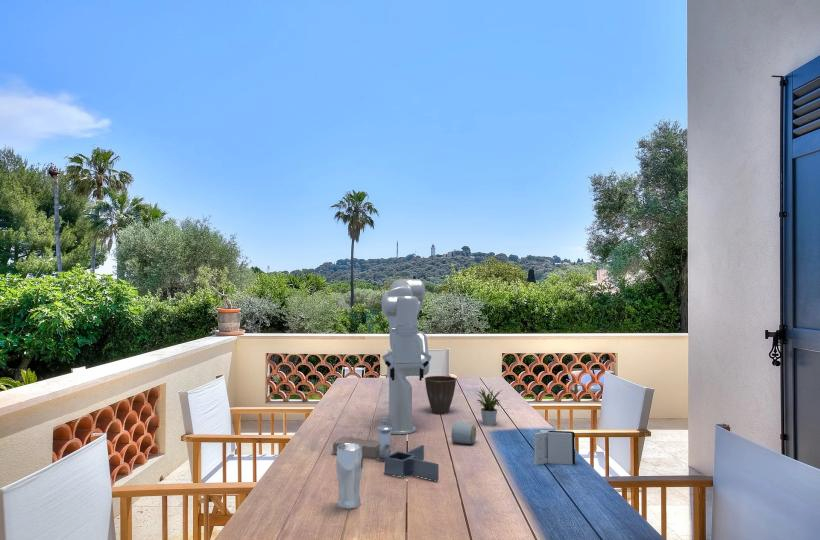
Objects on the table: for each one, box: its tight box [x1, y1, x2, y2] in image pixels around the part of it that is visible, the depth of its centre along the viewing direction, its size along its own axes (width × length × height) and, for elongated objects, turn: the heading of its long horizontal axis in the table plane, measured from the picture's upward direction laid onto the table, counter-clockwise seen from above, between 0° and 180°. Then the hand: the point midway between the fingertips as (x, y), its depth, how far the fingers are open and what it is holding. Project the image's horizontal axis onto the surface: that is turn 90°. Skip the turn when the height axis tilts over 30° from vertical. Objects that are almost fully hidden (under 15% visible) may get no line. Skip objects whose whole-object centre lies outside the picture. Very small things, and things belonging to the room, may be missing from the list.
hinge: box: [533, 429, 576, 466], centre depth 164 cm, size 14×5×10 cm, turn 92°
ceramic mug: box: [450, 420, 477, 445], centre depth 186 cm, size 11×8×8 cm
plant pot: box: [424, 375, 457, 415], centre depth 234 cm, size 15×15×16 cm
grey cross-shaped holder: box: [384, 444, 440, 482], centre depth 155 cm, size 17×17×5 cm
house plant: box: [476, 387, 503, 426], centre depth 213 cm, size 14×14×16 cm
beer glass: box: [335, 443, 364, 510], centre depth 130 cm, size 7×7×15 cm
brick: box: [332, 435, 379, 459], centre depth 173 cm, size 17×8×5 cm, turn 74°
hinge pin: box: [377, 424, 392, 463], centre depth 165 cm, size 5×5×11 cm
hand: (406, 380), depth 172 cm, fingers open, 9 cm apart
